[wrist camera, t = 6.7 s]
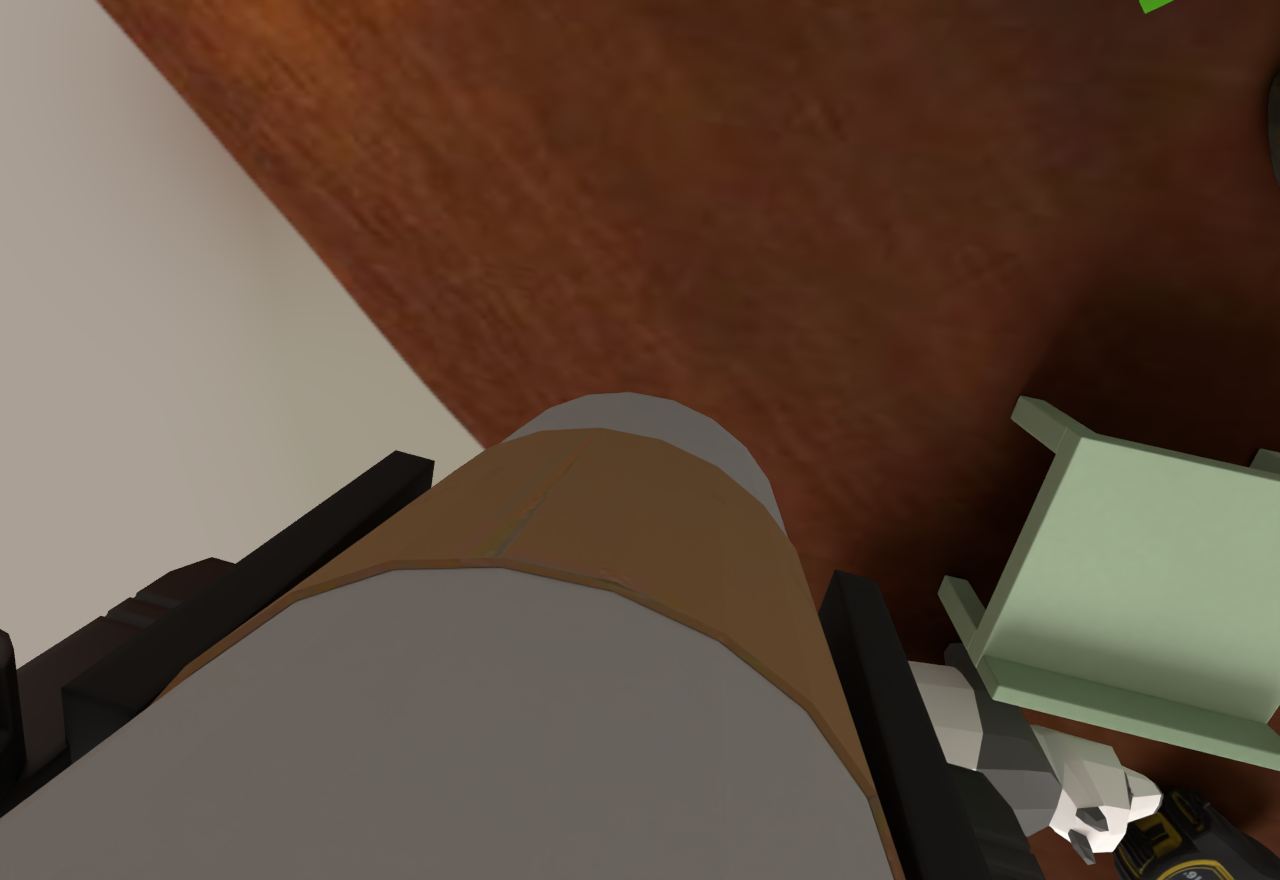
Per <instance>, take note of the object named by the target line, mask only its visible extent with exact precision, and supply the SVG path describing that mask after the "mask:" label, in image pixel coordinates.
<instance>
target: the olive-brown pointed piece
mask: <svg viewBox="0 0 1280 880" xmlns="http://www.w3.org/2000/svg"><path fill="white" fill-rule="evenodd" d="M1268 136H1269V144H1270V152H1271V158H1272V164H1273V170H1274V175H1275V177H1276V180H1277V183H1278V185H1279V188H1280V72H1279V73H1278V74H1277V75H1276V77H1275V78H1274V79H1273V81H1272V85H1271V88H1270V92H1269V104H1268Z"/></svg>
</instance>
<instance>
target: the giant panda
mask: <svg viewBox="0 0 1280 880" xmlns="http://www.w3.org/2000/svg"><path fill="white" fill-rule="evenodd" d="M944 660H945V665H946V666H942V665H935V664H928V663H920V662H913V661H908V663H909V665H910V668H911V670H912V673H913V676H914V678H915V681H916V683H917V686H918V688H919V691H920V694H921V696H922V699H923V701H924V704H925V706H926V709H927V712H928V714H929V717H930V719H931V722H932V724H933V727H934V730H935V732H936V735H937V737H938V740H939V742H940V745H941V748H942V750H943V753H944V755H945V758H946V761H947V763H950V764H954V765H957V766H961V767H964V768H968V769H971V770H975V771H979V772H982V773H983V774H984V775H985V776H986V777H987V778H988V780H989V781H990V782H991V783H992V784H993V786H994V787H995V788H996V789H997V791H998V792H999V793H1000V794H1001V795H1002V797H1003V798H1004V799H1005V800H1006V801H1007V803H1008V804H1009V805H1010V806H1011V807H1012V809H1013V811H1014V813H1015V815H1016V817H1017V819H1018V821H1019V823H1020V826H1021V828H1022V830H1023V832H1024V834H1025V836H1030V835H1032V834H1034V833H1035V832H1037V831H1039V830H1041V829H1043V828H1045V827H1047V826H1050V827H1052V828H1053V829H1054V831H1055V832H1057V833H1058V834H1060V835H1061V836H1062V837H1064V838H1065V839H1067V840H1068V841H1070V842H1071V844H1072V846H1073V848H1074V849H1075V850H1076V851H1077V852H1078V854H1079V855H1080V856H1081V857H1082V858H1083V859H1084V861H1085V862H1086V863H1087V864H1088V865H1090V864H1095V863H1096V862H1095V859H1094V855H1093V852H1113V851H1114V849H1115V848H1116V846H1117V845H1118V844H1119V842H1120V841H1121V839H1122V838H1123V836H1124V835H1125V834H1126V829H1127V824H1128V822H1131V821H1134V820H1137V819H1140V818H1143V817H1146V816H1149V815H1152V814H1155V813H1156V812H1157V810H1158V809H1159V807H1160V806H1161V803H1162V799H1163V793H1162V792H1161V790H1160V789H1159V788H1158V786H1157V785H1156V783H1154V782H1152V781H1151V780H1149V779H1148V778H1147V777H1146V776H1144V775H1142V774H1139V773H1137V772H1135V771H1133V770H1130V769H1128V768H1126V767H1124V766H1122V765H1121V764H1120V762H1119V760H1118V758H1117V756H1116V754H1115V752H1114V750H1113V748H1112V747H1111V746H1108V745H1104V744H1100V743H1097V742H1093V741H1090V740H1086V739H1083V738H1079V737H1076V736H1073V735H1069V734H1066V733H1062V732H1059V731H1055V730H1052V729H1049V728H1045V727H1042V726H1038V725H1029V723H1028V722H1027V720H1026V719H1025V717H1024V715H1023V713H1022V711H1021V709H1020V707H1019V706H1016V705H1012V704H1008V703H1004V702H1000V701H996V700H993V699H992V698H991V696H990V694H989V692H988V690H987V688H986V686H985V684H984V682H983V680H982V679H981V677H980V675H979V673H978V671H977V668H976V667H975V666H974V664H973V662H972V660H971V658H970V656H969V654H968V651H967V650H966V648H965V646H964V644H963V643H950V644H949V645H948V647H947V648H946V650H945V651H944Z"/></svg>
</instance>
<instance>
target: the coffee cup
mask: <svg viewBox="0 0 1280 880" xmlns="http://www.w3.org/2000/svg"><path fill="white" fill-rule="evenodd" d="M0 880H906V879H905V876H904V873H903V870H902V867H901V864H900V861H899V858H898V855H897V852H896V849H895V846H894V843H893V840H892V837H891V834H890V831H889V828H888V825H887V822H886V819H885V816H884V813H883V810H882V807H881V804H880V801H879V798H878V795H877V792H876V789H875V786H874V783H873V780H872V777H871V774H870V771H869V768H868V765H867V762H866V759H865V756H864V753H863V750H862V747H861V744H860V741H859V737H858V734H857V731H856V728H855V725H854V722H853V719H852V716H851V713H850V710H849V707H848V704H847V701H846V698H845V695H844V692H843V689H842V686H841V683H840V680H839V677H838V674H837V671H836V668H835V665H834V662H833V659H832V656H831V653H830V650H829V647H828V644H827V641H826V638H825V635H824V632H823V629H822V626H821V623H820V620H819V617H818V614H817V611H816V608H815V605H814V602H813V599H812V596H811V593H810V590H809V587H808V584H807V581H806V578H805V575H804V572H803V569H802V566H801V563H800V560H799V557H798V554H797V551H796V549H795V547H794V546H793V545H792V543H791V542H790V540H789V539H788V537H787V534H786V531H785V528H784V525H783V521H782V518H781V515H780V512H779V509H778V506H777V503H776V500H775V497H774V495H773V492H772V489H771V486H770V483H769V480H768V479H767V477H766V476H765V474H764V473H763V472H762V470H761V469H760V467H759V466H758V464H757V463H756V461H755V460H754V459H753V457H752V456H751V454H750V453H749V451H748V450H747V448H746V447H745V446H744V445H743V444H741V443H740V442H739V441H738V440H737V439H735V438H734V437H733V436H732V435H731V434H730V433H728V432H727V431H726V430H725V429H724V428H722V427H721V426H720V425H719V424H718V423H717V422H715V421H714V420H713V419H711V418H709V417H707V416H705V415H703V414H701V413H698V412H696V411H694V410H692V409H690V408H688V407H686V406H684V405H682V404H680V403H678V402H675V401H673V400H668V399H663V398H658V397H653V396H648V395H643V394H637V393H632V392H626V393H610V394H594V395H586V396H583V397H580V398H578V399H575V400H572V401H569V402H566V403H563V404H560V405H557V406H554V407H551V408H549V409H547V410H546V411H545V412H543V413H542V414H540V415H539V416H537V417H536V418H534V419H533V420H532V421H530V422H529V423H527V424H526V425H524V426H523V427H521V428H520V429H518V430H517V431H516V432H514V433H513V434H512V435H510V436H509V437H508V438H506V439H505V440H504V441H502V442H501V443H500V444H497V445H494V446H491V447H489V448H487V449H486V450H485V451H483V452H482V453H480V454H479V455H477V456H476V457H474V458H473V459H472V460H470V461H468V462H467V463H466V464H464V465H463V466H461V467H460V468H458V469H457V470H455V471H454V472H453V473H451V474H450V475H448V476H447V477H446V478H444V479H443V480H442V481H440V482H439V483H438V484H436V485H435V486H433V487H432V488H430V489H429V490H428V491H426V492H425V493H424V494H422V495H421V496H419V497H418V498H417V499H415V500H414V501H413V502H411V503H410V504H408V505H407V506H406V507H404V508H403V509H402V510H400V511H399V512H397V513H396V514H395V515H393V516H392V517H391V518H389V519H388V520H386V521H385V522H384V523H382V524H381V525H379V526H378V527H377V528H375V529H374V530H373V531H371V532H370V533H368V534H367V535H366V536H364V537H363V538H362V539H360V540H359V541H357V542H356V543H355V544H353V545H352V546H351V547H349V548H348V549H346V550H345V551H344V552H342V553H341V554H339V555H338V556H337V557H335V558H334V559H333V560H331V561H330V562H328V563H327V564H326V565H324V566H323V567H322V568H320V569H319V570H317V571H316V572H315V573H313V574H312V575H311V576H309V577H308V578H306V579H305V580H304V581H302V582H301V583H299V584H298V585H297V586H295V587H294V588H293V589H291V590H290V591H288V592H287V593H286V594H284V595H283V596H282V597H280V598H279V599H277V600H276V601H275V602H273V603H272V604H271V605H269V606H268V607H266V608H265V609H264V610H262V611H261V612H259V613H258V614H257V615H255V616H254V617H253V618H251V619H250V620H248V621H247V622H246V623H244V624H243V625H242V626H240V627H239V628H237V629H236V630H235V631H233V632H232V633H231V634H229V635H228V636H226V637H225V638H224V639H222V640H221V641H219V642H218V643H217V644H215V645H214V646H213V647H211V648H210V649H208V650H207V651H206V652H204V653H203V654H202V655H200V656H199V657H197V658H196V659H195V660H193V661H192V662H191V663H189V664H188V665H186V666H185V667H184V668H183V669H182V671H181V672H180V673H179V674H178V675H177V676H176V677H175V678H174V679H173V680H172V682H171V683H170V684H169V685H168V686H167V687H166V688H165V689H164V690H163V692H162V693H161V694H160V695H159V696H158V697H157V698H156V699H155V700H154V701H153V703H152V704H151V705H150V706H149V707H148V708H147V709H145V710H144V711H143V712H142V713H140V714H139V715H138V716H136V717H135V718H134V719H132V720H131V721H130V722H128V723H127V724H126V725H124V726H123V727H122V728H120V729H119V730H118V731H116V732H115V733H114V734H112V735H111V736H110V737H108V738H107V739H106V740H104V741H103V742H102V743H100V744H99V745H98V746H96V747H95V748H94V749H92V750H91V751H90V752H88V753H87V754H86V755H84V756H83V757H82V758H80V759H79V760H78V761H76V762H75V763H74V764H72V765H71V766H70V767H68V768H67V769H66V770H64V771H63V772H62V773H60V774H59V775H58V776H56V777H55V778H54V779H52V780H51V781H50V782H48V783H47V784H46V785H44V786H43V787H42V788H40V789H39V790H38V791H36V792H35V793H34V794H32V795H31V796H30V797H28V798H27V799H26V800H24V801H23V802H22V803H20V804H19V805H18V806H16V807H15V808H14V809H12V810H11V811H10V812H8V813H7V814H6V815H4V816H3V817H2V818H0Z"/></svg>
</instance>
